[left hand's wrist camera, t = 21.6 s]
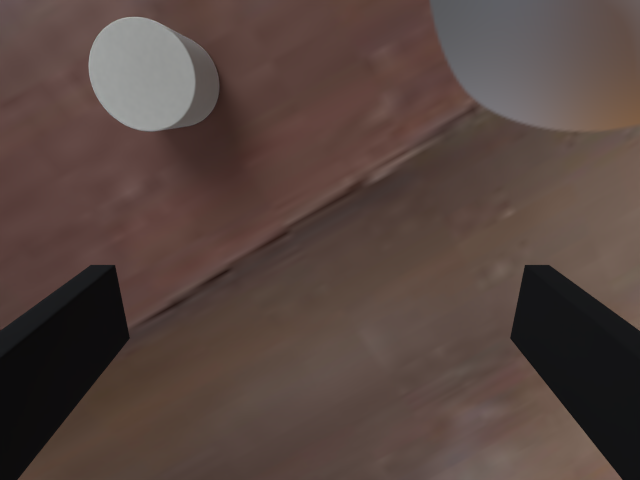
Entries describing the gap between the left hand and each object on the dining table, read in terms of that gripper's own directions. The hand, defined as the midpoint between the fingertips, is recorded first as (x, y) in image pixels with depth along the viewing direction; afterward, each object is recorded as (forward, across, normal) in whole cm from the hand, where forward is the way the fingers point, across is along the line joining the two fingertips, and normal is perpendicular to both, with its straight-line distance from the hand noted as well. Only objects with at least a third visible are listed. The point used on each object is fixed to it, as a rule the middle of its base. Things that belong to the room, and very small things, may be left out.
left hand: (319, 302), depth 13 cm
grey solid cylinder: (+14, +9, -7) cm, 18 cm away
